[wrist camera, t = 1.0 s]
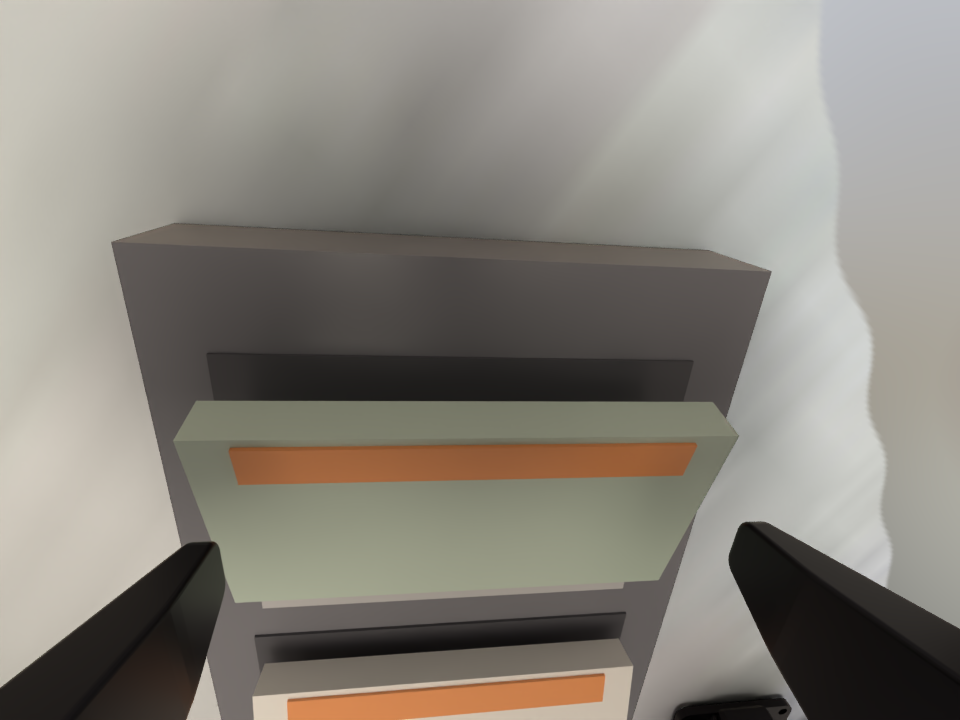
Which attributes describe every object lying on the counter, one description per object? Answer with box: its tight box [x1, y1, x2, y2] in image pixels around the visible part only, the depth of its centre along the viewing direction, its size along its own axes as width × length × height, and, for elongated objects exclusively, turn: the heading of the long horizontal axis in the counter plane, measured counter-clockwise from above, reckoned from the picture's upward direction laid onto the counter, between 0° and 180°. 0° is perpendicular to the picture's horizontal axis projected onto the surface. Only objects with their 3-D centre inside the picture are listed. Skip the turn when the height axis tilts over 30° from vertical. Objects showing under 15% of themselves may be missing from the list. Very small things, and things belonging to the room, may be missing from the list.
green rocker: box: [173, 401, 739, 603], centre depth 13 cm, size 6×12×2 cm, turn 86°
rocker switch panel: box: [111, 223, 772, 720], centre depth 17 cm, size 20×16×3 cm
